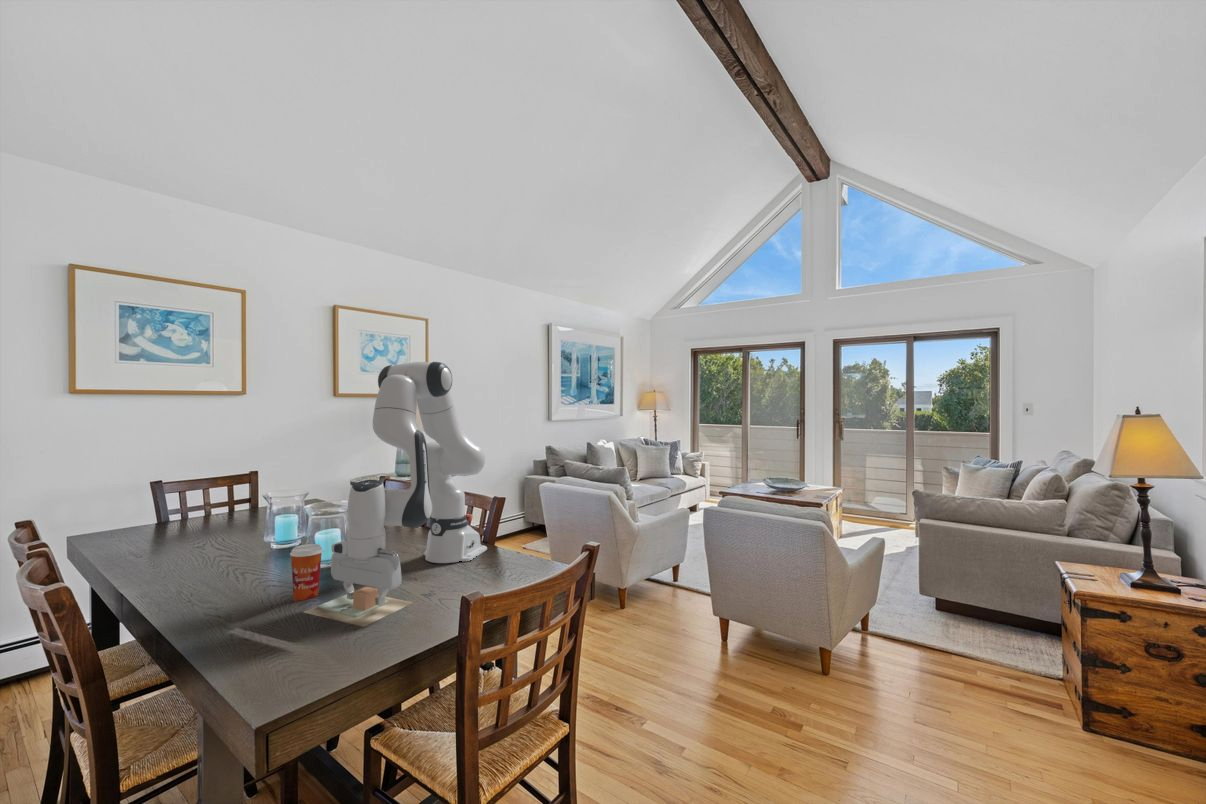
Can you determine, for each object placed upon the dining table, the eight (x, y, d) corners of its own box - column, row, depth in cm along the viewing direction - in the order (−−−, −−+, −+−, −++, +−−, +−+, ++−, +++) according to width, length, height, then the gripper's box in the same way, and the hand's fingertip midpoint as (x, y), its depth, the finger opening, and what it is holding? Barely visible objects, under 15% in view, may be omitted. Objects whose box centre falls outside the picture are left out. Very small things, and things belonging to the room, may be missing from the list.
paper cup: (285, 606, 135) (285, 552, 135) (294, 596, 143) (294, 544, 142) (318, 604, 137) (319, 550, 137) (326, 593, 145) (326, 542, 145)
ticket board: (356, 595, 144) (356, 588, 144) (413, 607, 136) (413, 600, 136) (302, 617, 129) (302, 609, 129) (363, 631, 121) (363, 623, 121)
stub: (373, 599, 137) (374, 582, 137) (388, 602, 135) (388, 585, 135) (341, 613, 128) (341, 595, 128) (356, 617, 126) (357, 598, 126)
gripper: (407, 548, 131) (407, 603, 131) (347, 538, 139) (346, 591, 139) (388, 554, 125) (387, 613, 125) (326, 544, 133) (325, 599, 133)
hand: (365, 601), depth 132 cm, fingers open, 8 cm apart
